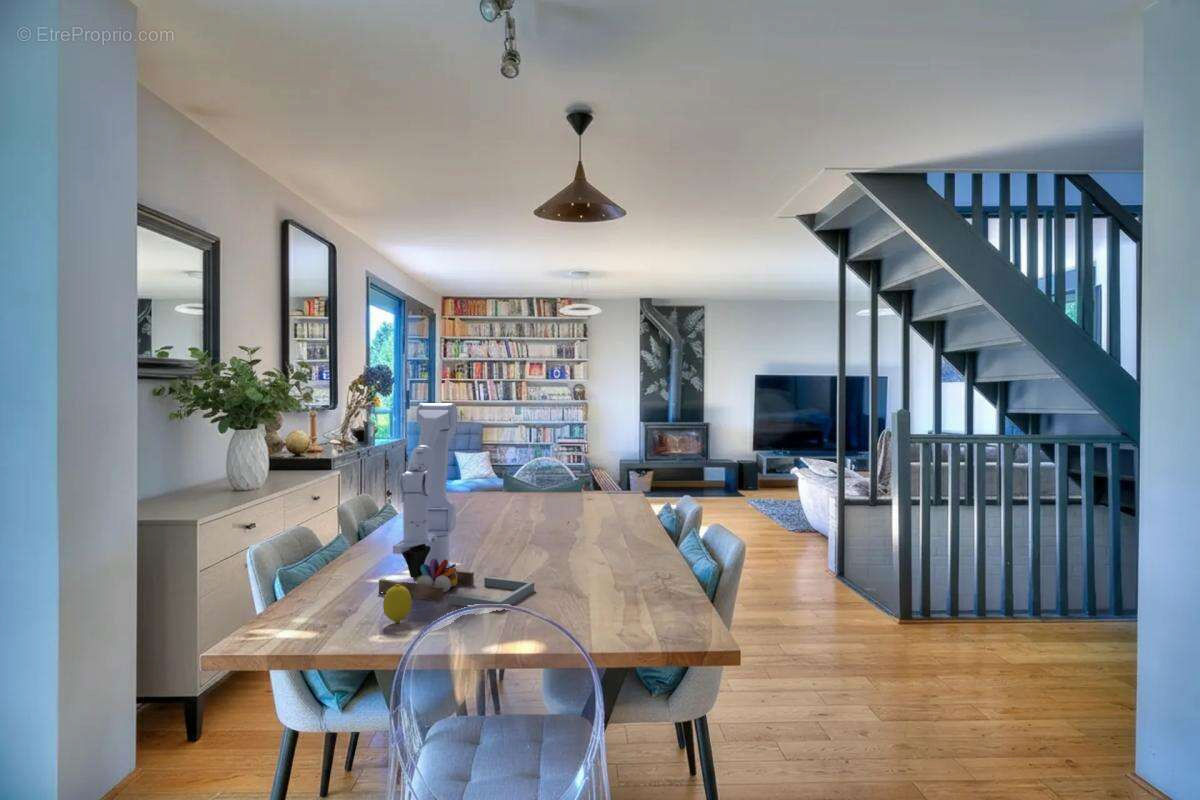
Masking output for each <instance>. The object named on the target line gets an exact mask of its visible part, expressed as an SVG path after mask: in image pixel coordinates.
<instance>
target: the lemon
mask: <svg viewBox="0 0 1200 800" xmlns="http://www.w3.org/2000/svg"><path fill="white" fill-rule="evenodd" d="M412 602H413V601H412V597H411V595H410V593H409V591H408V589H407V588H405V587H404V586H401V585H399V584H396V585H395V586H393V587H391V588H390V589H389V590H388V591H387V592H386V594H384V598H383V602H382V606H383V612H384V615H385V617H387V619H389V620H390V621H393V622H394V623H395V624H399V623H401V621H403V620H405V619H406V618H407V617H408V615H409V614H410V613H411V609H412V605H413V603H412Z"/></svg>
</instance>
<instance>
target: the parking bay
mask: <svg viewBox="0 0 1200 800" xmlns="http://www.w3.org/2000/svg"><path fill="white" fill-rule="evenodd" d="M483 579H484V580H483V581H484V582H483V585H484V587H489V588H497V589H498V588H500V589H506V590H507V589H508V590H514V591H512V592H511V593H509V594H508V595H506V596H504V597H503V598H500V599H492V598H483V597H476V596H471V595H470V596H469V595H462V594H456V593H454V594H453V593H451V594H449V595H448V604H449V605H451V606H452V605H453V606H459V605H460V606H459V607H465V606H467V605H474V604H512V605H514V604H515V603H517V602H518V601H520V600H521V599H524V598H525V597H526V596H528V595H530V594H531V593H533V592H535V582H534V581H525V580H517V579H512V578H511V579H510V578H509V579H508V578H503V577H502V578H501V577H493V576H492V577H491V576H485V577H483Z"/></svg>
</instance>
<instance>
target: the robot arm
mask: <svg viewBox="0 0 1200 800" xmlns="http://www.w3.org/2000/svg"><path fill="white" fill-rule="evenodd" d="M416 421H417V424H418V427H419V428H420V431H419V432H420V433H419V440H418V445H417V446H416V447H414V448H413V450H411V454H410V458H409V461H408V465H407V469H406V471H405V472H403V473H401V476H400V478H399V491H400V496H401V497H400V498H401V502H402V503H403V505H402V506H403V510H402V511H403V525H402V526H403V534H402V535H403V538H402V539H401V540H399V542H397V543H394V544H393V545H392V554H395V555H402V557H403V558H404V559H405V563H406V566H407V568H408V572H409V576H410V578H412V579H415V578H417V577H418V576H420V575H421V574H422V572H421V570H420V567H421V565H423V564H426V565H428V566H430V562H431V560H432V559H437V561H438V563H439V566H440V564H441V563H442V562H443V560H445V559H446V560H447V561H448V564H447V567H446V568H447V569H450V568H452V567H453V565H454V566H455V565H456V564H457V563H456V562H453V561H450V534H451V533H453V532H454V530H455V528H456V524H457V522H456V521H457V515H456V514H457V513H456V505H455V504H454V502H452V501H451V500H450V499H449V498H448V497H446V495H447V494H446V492H447V476H448V464H449V463H448V460H449V459H448V458H449V444H450V439H451V437H452V436H454V435H456V434H457V429H458V428H457V427H458V408H457V405H456V404H455V402H451V403H445V402H443V403H442V402H441V403H439V402H438V403H437V402H436V403H430V402H429V403H427V402H426V403H425V402H419V404H418V406H417V408H416ZM437 508H438V509H437Z"/></svg>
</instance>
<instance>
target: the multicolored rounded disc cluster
mask: <svg viewBox="0 0 1200 800" xmlns="http://www.w3.org/2000/svg"><path fill="white" fill-rule="evenodd" d="M447 564H448V561H447V560H446V559H445V560H443V562H442V563H441V564H440V566H439V563H438V561H437V559H432V560H431V562H430V566H428V565H426V564H423V565H421V567H420V570H421V572H422V574H423V575H420V576H418V577H417V579H416V583H417V584H425V585H432V586H440V587H443V594H444V593H446V592H447V593H448V591H449V590H450V588H451V587H455V586H457V585H458V584H457V574H456V570H457V568H456V567H450V568H448V569H449V570H445V569H446V567H447Z"/></svg>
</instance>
